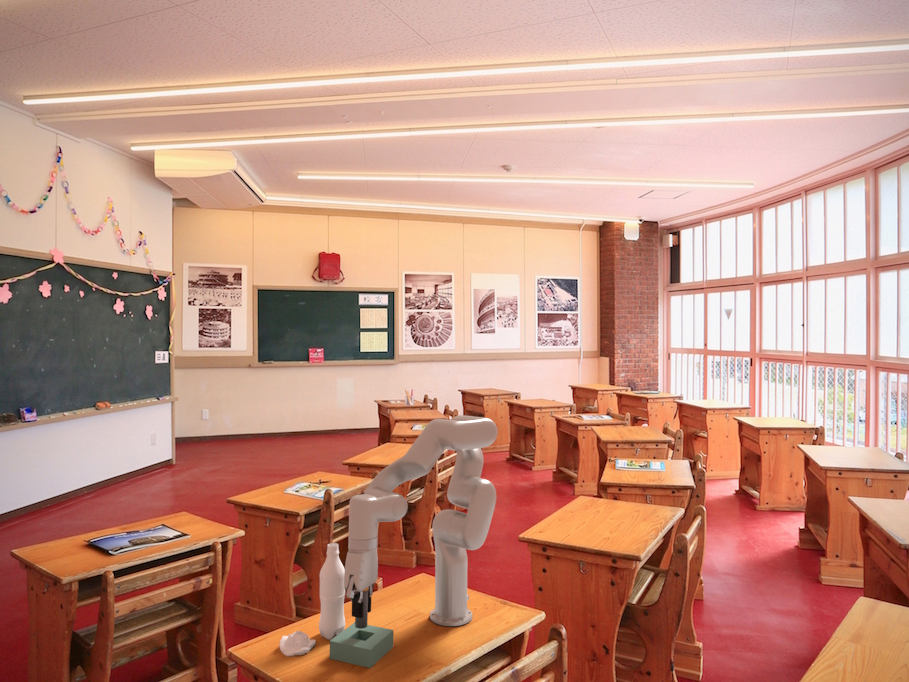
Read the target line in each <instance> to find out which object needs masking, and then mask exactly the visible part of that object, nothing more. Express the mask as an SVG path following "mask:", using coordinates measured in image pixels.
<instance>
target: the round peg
mask: <svg viewBox="0 0 909 682" xmlns="http://www.w3.org/2000/svg"><path fill="white" fill-rule="evenodd" d="M355 588H356V589H357V587H355ZM368 589H369V587H367V588H365V589H364V590H363V596H362V602H364V607H363V618H357V617H354V620H355V621H354V622H355V627H356V628H359V629H362V628H366V627H367V625H368V622H369V621H368V620H369V619H368V616H369V615H368V613H369V612H368ZM355 594H357V595H358V596H359V593H357V592H355Z"/></svg>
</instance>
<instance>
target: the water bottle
mask: <svg viewBox="0 0 909 682" xmlns="http://www.w3.org/2000/svg"><path fill="white" fill-rule="evenodd" d="M326 547H327V548H326V553H325V554H326V559H325V560H324V561H325V562H324V563H323V565H322V567H321V568H320V571H319V601H320V615H319V621H318V622H319V623H318V630H319V634H320V636H321V637H323V638H325V639H326V640H332V639H333V638H334V637H336V636H337V635H338V634H340V633H341V632H342V631H344V630H345V629H346V619H345V609H344V608H345V606H344V605H345V603H344V602H345V595H346V590H345V589H344V574H345V566H344V565H343V563H342V561H341V559H340V556H339V554H340V551H339V550H340V549H339V543H336V542H331V543H328V544H327V546H326Z"/></svg>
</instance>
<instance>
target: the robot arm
mask: <svg viewBox="0 0 909 682" xmlns="http://www.w3.org/2000/svg"><path fill="white" fill-rule="evenodd" d="M497 437H498V426H497V425H496V423H495V421H494V420H492V419H490V418H488V417H483V416H482V417H480V416H473V415H465V414H464V415H463V414H462V415H456V416H454V417H452V418H451V419H444V418H435V419H432V420H431V421H429V422H428V423H427V425H426V426H425V427H424V428H423V430H422V431H420V434H419V435H418V437H417V438H415V440H414V442H413V444H412V445H411V446H410V447H409V448H408V450H407V452H406V453H405V454H404V455H403V456H401V457H400V458H398V459H396V460H394V461H393V462H391V463H390V464H389V465H387V466H386V467H384V468H383V469H382V470H380V471H379V472H378V473H377V474H376V476H375V477H373V479H372V480H371V482H370V483H369V485H368V486H367V488H365V490H364V492H363V494H356V495H353V496H351V497H350V499H349V504H348V508H349V509H348V543H347V544H348V546H347V547H348V551H347V553H346V556H345V557H346V558H345V565H344V569H345V574H344V589H345V591H346V593H345V595H346V597H347V598H348V599H349V598H350V602H351V616H352V617H353V618H355V617H357V618H363V607H364V602H362V596H363V590H364V589H365V588H367V587H369V589H368V613H371V612H372V596H373V589H374V586H375V584H376V582H377V580H378V573H379V571H378V570H379V559H378V530H379V529H378V528H379V527H378V526H379V524H378V523H382V522H383V523H389V522H398V521H400V520H401V519H402V518H403V517H405V515H406V514H407V512H408V509H409V508H408V507H409V506H408V505H409V504H408V501H407V499H406V498H405V497H404V496H403V495H402V494H399V493H397V492H394V491H395V489H396V488H397V487H399V486H400V485H401V484H404V483H405V482H408V481H412V480H414V479H419V478H421V477H424V476H426V475H428V474H429V473H430V472H431V470H433V469H432V468H433V467H434V466H435V464H436V463H437V462H438V460H439V459H440V457H441V456H442V455H443V453H444V452H445V451H446V450H449V451H456V457H455V458H456V459H455V462H454V463H455V464H454V467H453V470H452V473H451V478H450V481H449V484H448V488H447V494H446V495H447V496H446V497H447V500H448V502H450V504H453V505H454V506H457V507H460V508H463V509H466V510H467V513H465V512H463V511H459V510H457V509H449V508H447V509H443V510H440V511H439V512H438V513H437V514H436V515H435V516H434V518H433V520H432V524H431V525H432V527H431V528H432V536H433V540H434V549H435V551H434V552H435V565H434V566H435V570H434V571H435V575H434V576H435V579H434V580H435V581H434V585H435V588H434V589H435V590H434V592H435V594H434V595H435V598H434V604H435V605H434V607H435V608H433V609H432V610H431V611H430V612H429V618H430V619H429V620H431V621H432V623H434V624H436V625H440V626H444V627H445V626H446V627H459V626H463V625H466V624H468V623H470V621H472V620H473V612H472V611H471V610H470V609H469V608H468V601H469V600H470V595H469V594H468V554H467V553H468V552H467V550H469V551H476V550H478V549H480V548H481V547H482V546H483V545H484V543H485V541H486V540H487V539H486V538H487V537H488V533H489V530H490V526H491V523H492V519H493V515H494V511H495V508H496V505H497V489H496V488H495V486H494V484H493V483H492V481H490V480H488V479H486V478H482V477H481V476H482V473H483V468H484V464H485V463H484V461H485V460H484V453H483V448H486V447H487V448H488V447H489V446H491V445H492V444H494V443H495V442H496V440H497ZM356 587H357V589H356ZM356 592H357V593H359V596H358V595H357V594H356Z"/></svg>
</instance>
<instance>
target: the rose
mask: <svg viewBox="0 0 909 682" xmlns="http://www.w3.org/2000/svg"><path fill="white" fill-rule="evenodd" d="M316 643H317V642H316V640H315V639H311V638H310V636H309V635H308V634H307V633H305V632H303V631H301V630H296V631H294V632H293V633H292V634H291V633H289V634H288V635H282V636H281V639H280V640H279V646H278V647H279V650H280V652H281V653H282V654H284V656H285V655H286V656H285V657H295V656H294V655H299V656H303V655H306V654H308V653H310V651H311V649H313V647H314V646H315V645H316ZM307 652H308V653H307ZM305 653H306V654H305ZM302 654H303V655H302Z"/></svg>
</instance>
